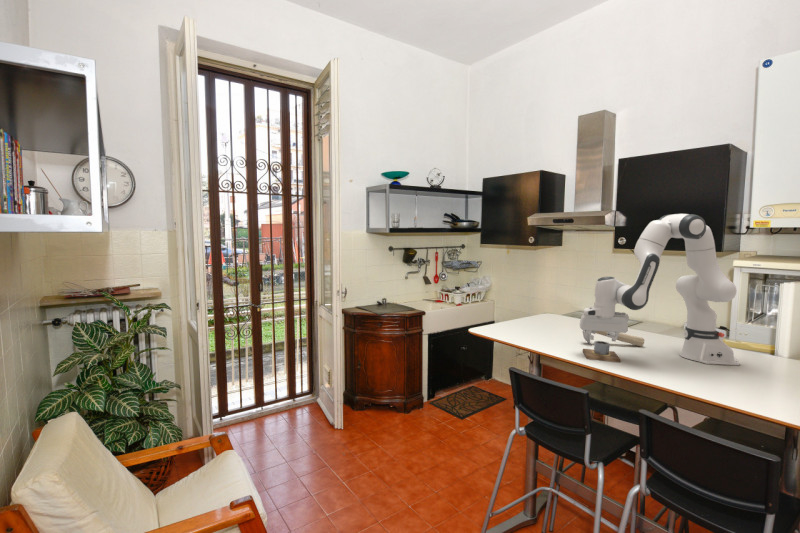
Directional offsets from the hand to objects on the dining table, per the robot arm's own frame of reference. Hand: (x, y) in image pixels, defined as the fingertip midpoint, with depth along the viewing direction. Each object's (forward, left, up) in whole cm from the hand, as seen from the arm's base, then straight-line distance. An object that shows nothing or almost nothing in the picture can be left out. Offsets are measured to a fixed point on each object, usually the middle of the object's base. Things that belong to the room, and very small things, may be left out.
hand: (602, 340), depth 191 cm
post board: (0, 0, -8) cm, 8 cm away
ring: (0, 0, -6) cm, 6 cm away
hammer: (-10, -24, -8) cm, 27 cm away
